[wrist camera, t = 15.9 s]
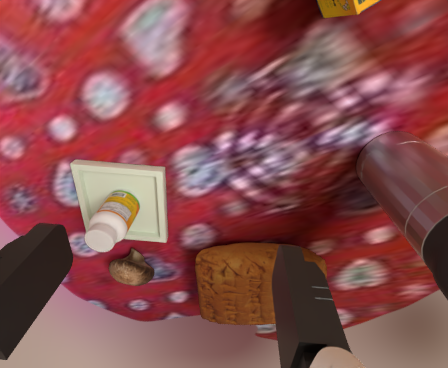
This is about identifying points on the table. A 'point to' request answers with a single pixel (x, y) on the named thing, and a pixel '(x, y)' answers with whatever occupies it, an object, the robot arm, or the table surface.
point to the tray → (129, 180)
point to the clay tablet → (240, 282)
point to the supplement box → (343, 7)
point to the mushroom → (131, 269)
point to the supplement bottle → (112, 220)
